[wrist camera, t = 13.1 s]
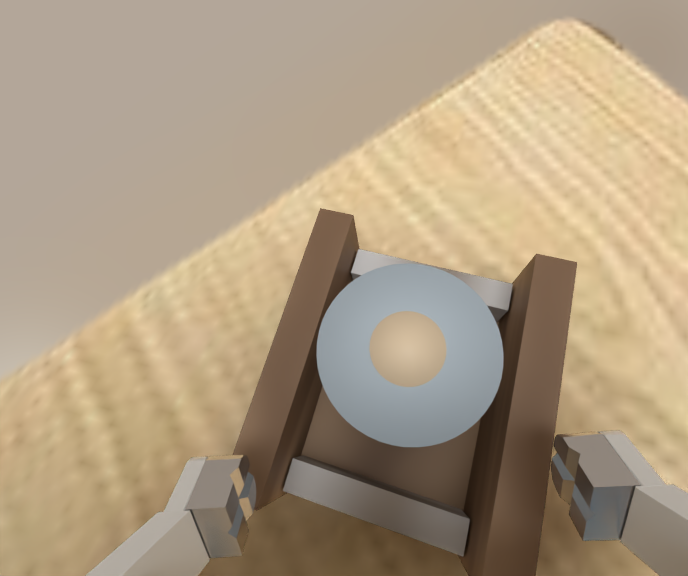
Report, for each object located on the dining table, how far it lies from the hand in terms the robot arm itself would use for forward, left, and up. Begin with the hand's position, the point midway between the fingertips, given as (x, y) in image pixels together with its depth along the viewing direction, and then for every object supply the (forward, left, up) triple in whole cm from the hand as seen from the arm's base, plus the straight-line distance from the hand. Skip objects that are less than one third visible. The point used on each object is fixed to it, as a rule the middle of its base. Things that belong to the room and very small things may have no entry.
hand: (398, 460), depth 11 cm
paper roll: (0, +3, -7) cm, 7 cm away
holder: (+1, +3, -8) cm, 8 cm away
